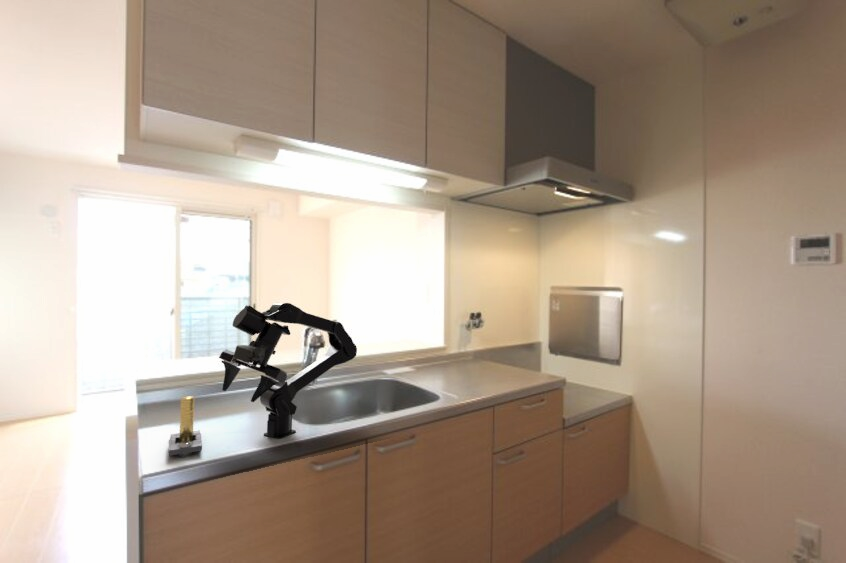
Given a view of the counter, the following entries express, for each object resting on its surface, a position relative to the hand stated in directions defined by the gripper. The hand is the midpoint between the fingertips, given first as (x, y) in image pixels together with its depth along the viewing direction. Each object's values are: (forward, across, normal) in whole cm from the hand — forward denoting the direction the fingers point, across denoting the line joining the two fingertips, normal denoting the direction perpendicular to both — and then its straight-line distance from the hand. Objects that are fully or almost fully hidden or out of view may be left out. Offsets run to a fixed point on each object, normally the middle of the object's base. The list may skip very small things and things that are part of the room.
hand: (237, 396), depth 107 cm
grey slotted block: (+16, -8, +2) cm, 18 cm away
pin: (+16, -7, +1) cm, 18 cm away
